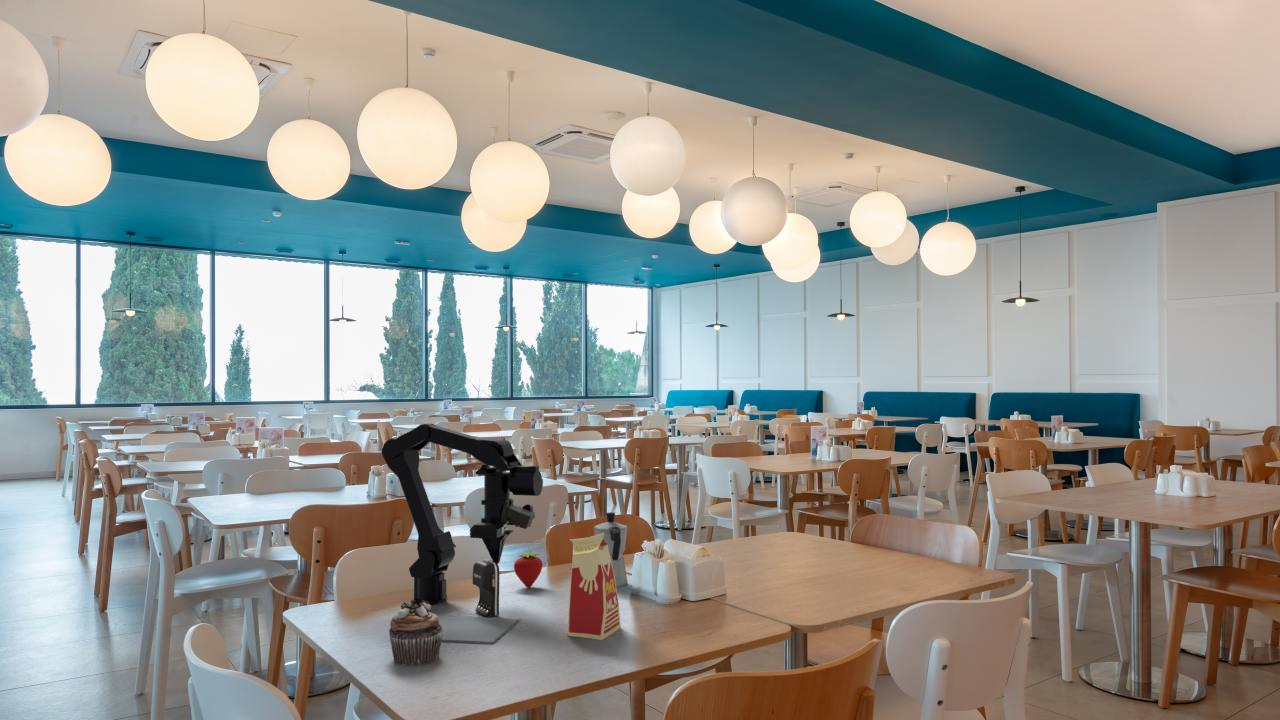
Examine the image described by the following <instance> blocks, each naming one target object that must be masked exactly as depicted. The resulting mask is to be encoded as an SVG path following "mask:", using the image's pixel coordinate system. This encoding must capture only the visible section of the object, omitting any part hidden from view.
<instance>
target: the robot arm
mask: <svg viewBox="0 0 1280 720" xmlns="http://www.w3.org/2000/svg"><path fill="white" fill-rule="evenodd" d="M429 443H432V444H435V445H439V446H442V447H446V448H449V449H453V450H456V451H459V452H463V453H466V454H468V455H470V456H472V457H473V458H474V459H475V460H476V461H478V462H480V463H483V464H482V465H481V466H480V468H478V470H476V471H475V475H477V476H484V477H483V479H484V488H483V489H484V491H483V492H484V494H483V496H484V497H483V499H481V500H480V501H481V503H480V504H481V505H482V506H483V508H484V509H483V510H484V511H483V513H484V515H483V517H482V518H480V522H478V523H475V524H473V525H472V526H471V527H470V528H469V538H471V539H481V540H482V542H483V543H484V546H485V548H486V549H487V551H488V554H489V556H490V558H491V561H493V562H495V563H497V564H498V565H499V564H500V562H501V558H502V555H503V550H504V546H505V543H506V539H507V538H508V537H510V535H511V534H512V533H514V530H513V529H511V530H509V529H508V526H515V527H516V528H521V529H524V530H527V529H528V528H529V527H531V525H532V523H533V520H534V519H535V518H536V513H535V511H534V506H533V505H531V504H530V503H526V504H524V505H523V506H522V507H521V506H520V505H519V506H518V505H514V499H513V497H510V493H512V495H514V496H525V497H527V496H528V497H529V496H530V497H531V496H532V497H539V496H540V495H541V494H542V491H543V486H544V479H543V477H542V473H541V471H540V466H539V465H531V466H530V465H529V466H528V465H525V466H524V465H523V464H522V463H521V461H520V460H519V458H518V457H517V455H516V454H515V452H514V448H513V445H512V443H511V442H510V441H509V440H507V439H503V438H491V437H478V436H474V435H471V434H466V433H463V432H459V431H456V430H453V429H450V428H446V427H443V426H439V425H436V424H435V423H431V422H429V423H421V424H419V425H418V426H416V427H415V428H413V429H411V430H410V431H408V432H405V433H403V434H402V435H400V436H398V437H396V438H391V439H388V440H386V441H385V442H384V444H383V446H382V448H381V456H382V457H383V460H384V462H385V463H386V466H387V467H388V469H389V470H390V471H391V472H392V473H393V474H395V476H396V477H397V479H398V480H399V484H400V486H401V487H400V488H401V489H402V492H403V495H404V498H405V501H406V504H407V505H408V509H409V512H410V516H411V517H412V521H413V523H414V526H415V529H416V532H417V537H418V538H417V543H416V544H417V545H416V549H417V555H418V559H416V561H414V563H412V565H410V566H409V568H408V570H409V574H410V577H411V578H413V598H412V600H410V604H419V603H420V602H422V601H423V600H424V601H425V602H429V603H428V604H429V605H437V604H439V603H440V602H442V601H444V600H446V598H448V594H447V579H446V578H445V572H446V571H447V570H448V568H449V567H450V566H449V565H450V564H451V563H452V562H453V560H454V558H455V556H456V551H455V548H456V547H457V545H456V544H455V543H454V541H453V539H452V538H453V536H452V533H451V531H449V530H448V531H446V532H444V531H443V530H442V529H441V528H440V526H439V524H438V522H437V520H436V519H437V518H436V516H435V514H434V511H433V507H432V505H431V503H430V500H429V497H428V494H427V492H426V489H425V486H424V483H423V479H422V478H421V474H420V472H419V471H420V470H419V469H420V468H419V466H420V453H419V451H421V450H422V449H424V448H425V447H427V446H428V445H429Z"/></svg>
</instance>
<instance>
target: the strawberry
mask: <svg viewBox="0 0 1280 720" xmlns="http://www.w3.org/2000/svg"><path fill="white" fill-rule="evenodd" d="M527 548H528V550H529V551H530V553H527V552H525V553H524V554H521V555H519V558H518V559H516V560H515V561H514V564H513V569H514V572H515V575H516V576H517V577H518V579H519V580H520V582H522V584H523V585H524V586H525V587H526V588H531V587H533V584H534V583H535V582H536V580H537V579H538V577H539V576H540V575H541V573H542V570H543V565H544V564H543V561H542V560H541V559H542V558H540V557H539V555H540V554H539V553H532V551H531V549H530V548H529V546H527Z"/></svg>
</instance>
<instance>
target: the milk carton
mask: <svg viewBox="0 0 1280 720" xmlns="http://www.w3.org/2000/svg"><path fill="white" fill-rule="evenodd" d="M603 536H604V533H602V534H598V535H595V534H594V535H591V536H589V537H583V538H582V537H581V538H572V539H571V538H570V539H569V541H570V542H571V543H572V560H571V561H572V562H571V572H570V584H569V585H570V586H569V601H568V603H569V605H568V606H569V607H568V622H567V623H568V624H567V625H568V627H567V628H568V629H567V637H576V638H585V639H592V640H599V641H603V640H605V639H606V638H608V637H609V636H611V635H613V634H614V633H615V632H617V631H618V630H620V629H621V628H622V627H621V616H620V614H621V613H620V604H619V603H620V602H619V597H618V590H617V587H616V582H615V576H614V571H613V566H612V562H611V558H610V553H609V549H608V544H607V543H606V542H605V541H604V540H603Z"/></svg>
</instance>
